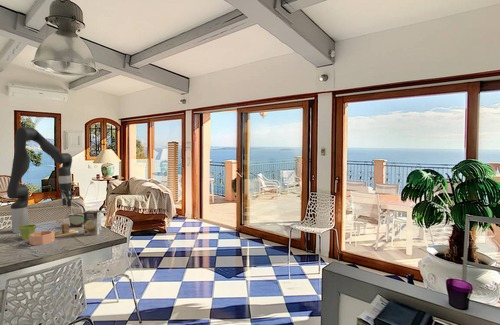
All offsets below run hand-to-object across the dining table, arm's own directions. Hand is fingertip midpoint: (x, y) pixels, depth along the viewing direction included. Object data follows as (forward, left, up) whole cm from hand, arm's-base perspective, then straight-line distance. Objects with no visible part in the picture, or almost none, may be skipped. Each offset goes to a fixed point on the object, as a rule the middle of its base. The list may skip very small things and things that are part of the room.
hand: (66, 205), depth 202 cm
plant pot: (-11, -19, -20) cm, 30 cm away
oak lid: (+1, -2, -19) cm, 19 cm away
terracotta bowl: (+5, -18, -20) cm, 27 cm away
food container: (-13, +15, -20) cm, 28 cm away
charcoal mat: (+1, -2, -20) cm, 20 cm away
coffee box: (+16, +8, -20) cm, 27 cm away
